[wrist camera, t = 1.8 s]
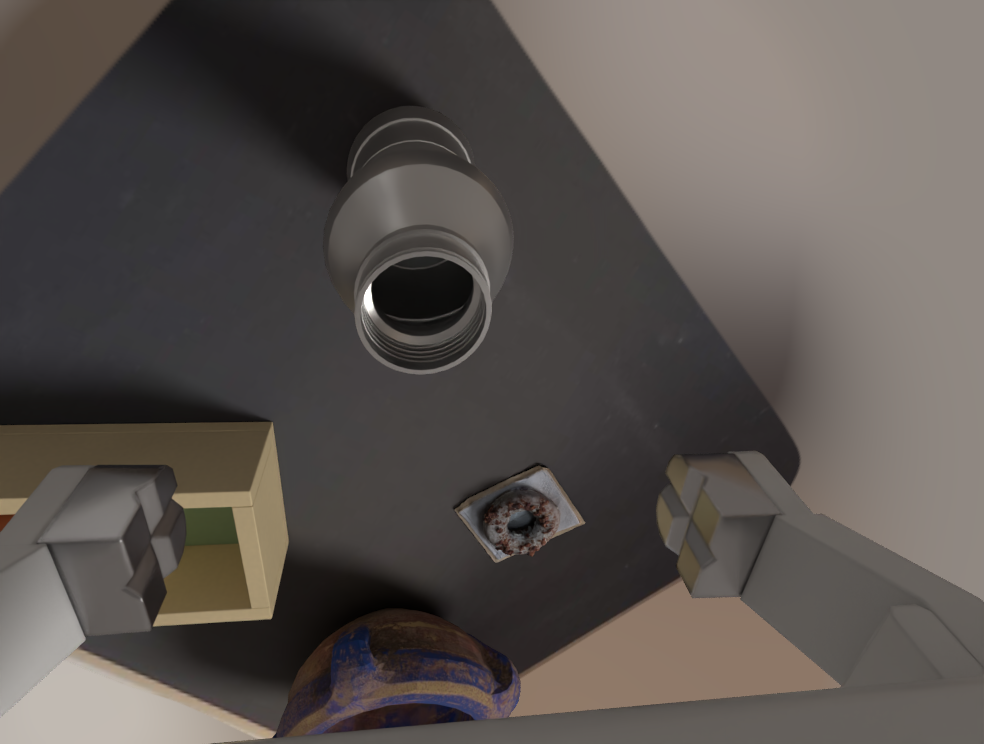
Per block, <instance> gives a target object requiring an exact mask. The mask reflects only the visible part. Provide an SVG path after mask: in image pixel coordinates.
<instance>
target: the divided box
mask: <svg viewBox="0 0 984 744" xmlns="http://www.w3.org/2000/svg"><path fill="white" fill-rule="evenodd" d="M61 465H94V466H96V465H168V466H169V467H171V468H172V469H173V471H174V475H175V478H176V481H177V485H178V486H177V488H176V490H175V492H174V494H173V496H172V499H173V500H175V501H176V502H177V503H178V504H180V505H181V506H182V507H183V509H184V513H185V518H186V531H187V535H186V541H185V547H184V553H183V555H182V558H181V560H180V563H179V565H178V568H177V569H176V570H174V571H173V572H172V573H171V574H169V575H168V576H167V577H165V578H164V583H165V586H166V590H167V594H166V596H165V599H164V601H163V603H162V606H161V608H160V610H159V613H158V615H157V617H156V620H155V622H154V624H153V626H167V625H183V624H199V623H215V622H231V621H247V620H263V619H272V616H273V611H274V607H275V602H276V597H277V593H278V588H279V584H280V579H281V575H282V570H283V565H284V561H285V556H286V552H287V548H288V543H289V540H288V532H287V525H286V517H285V510H284V503H283V495H282V488H281V480H280V473H279V465H278V458H277V451H276V443H275V436H274V428H273V422H217V423H141V424H64V425H0V515H6V514H16V512H17V511H18V510H19V509H20V507H21V506H22V505H23V504H24V502H25V501H26V500H27V499H28V498H29V496H30V495H31V494H32V493H33V491H34V490H35V489H36V488H37V486H38V485H39V484H40V483H41V482H42V480H43V479H44V478H45V477H46V475H47V474H48V473H49V472H50V471H51V470H52V469H54V468H56V467H59V466H61Z"/></svg>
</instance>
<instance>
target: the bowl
mask: <svg viewBox="0 0 984 744" xmlns="http://www.w3.org/2000/svg"><path fill="white" fill-rule="evenodd" d="M519 696H520V679H519V675H518V672H517V669H516V668H515V666H514V665H513V663H512V662H511V661H510V660H509V659H508V658H507V657H506V656H505V655H503V654H501V653H500V652H498V651H496V650H494V649H492V648H490V647H489V646H487V645H486V644H484V643H482V642H481V641H479V640H478V639H476V638H475V637H473V636H472V635H470V634H467V633H465V632H464V631H463V630H461V629H460V628H459V627H457V626H455V625H454V624H452V623H450V622H448V621H446V620H444V619H442V618H440V617H438V616H435V615H432V614H429V613H426V612H422V611H417V610H408V609H403V608H386V609H382V610H378V611H375V612H371V613H369V614H366V615H364V616H361V617H359V618H357V619H355V620H354V621H352V622H349V623H348V624H346V625H345V626H343V627H341V628H340V629H338V630H337V631H335V632H334V633H333V634H331V635H330V636H329V637H327V638H326V639H325V640H323V641H322V643H321V644H320V645H319V646H318V647H317V648H316V649H315V650H314V652H313V653H312V654H311V655H310V656H309V657H308V659H307V660H306V661H305V663H304V664H303V665H302V667H301V668H300V669H299V671H298V673H297V676H296V678H295V680H294V682H293V685H292V687H291V689H290V692H289V695H288V704H287V706H286V709H285V711H284V713H283V715H282V718H281V721H280V724H279V727H278V730H277V733H276V734H275V735H274V736H273V738H280V737H292V736H303V735H314V734H326V733H337V732H349V731H360V730H371V729H383V728H394V727H406V726H417V725H428V724H440V723H451V722H463V721H474V720H486V719H497V718H508V717H509V715H510V714H511V712H512V711H513V710H514V708H515V707H516V704H517V703H518V701H519Z"/></svg>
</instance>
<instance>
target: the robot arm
mask: <svg viewBox="0 0 984 744" xmlns="http://www.w3.org/2000/svg"><path fill="white" fill-rule="evenodd" d="M665 473H666V475H667V476H668V478H669V480H670V482H671V483H670V484H668V485H667V486H666V487H665V488H664V489H663V490H662V491H661V492H660V493H659V497H658V502H657V506H656V516H657V525H658V529H659V533H660V536H661V538H662V540H663V542H664V544H665V546H666V547H668V548H669V549H671V550H672V551H673V552H675V553H676V554H678V555H679V558H678V561H677V564H676V568H677V570H678V571H679V573H680V575H681V577H682V579H683V581H684V583H685V585H686V587H687V589H688V591H689V593H690V595H691V597H692V598H715V597H741V598H740V599H741V600H742V601H743V602H744V603H745V604H747V605H748V606H749V607H750V608H751V609H752V610H753V611H755V612H756V613H757V614H758V615H759V616H760V617H762V618H763V619H764V620H765V621H766V622H768V623H769V624H770V625H771V626H772V627H774V628H775V629H776V630H777V631H778V632H779V633H780V634H782V635H783V636H784V637H785V638H786V639H787V640H789V641H790V642H791V643H792V644H793V645H795V646H796V647H797V648H798V649H799V650H801V651H802V652H803V653H804V654H805V655H806V656H807V657H809V658H810V659H811V660H812V661H813V662H815V663H816V664H817V665H818V666H819V667H820V668H821V669H823V670H824V671H825V672H826V673H827V674H829V675H830V676H831V677H832V678H833V679H834V680H836V681H837V682H838V683H839V684H840V685H841V687H840V688H834V689H822V690H811V691H801V692H789V693H777V694H767V695H754V696H745V697H744V696H743V697H732V698H721V699H710V700H699V701H688V702H676V703H665V704H655V705H643V706H632V707H621V708H610V709H599V710H587V711H577V712H565V713H555V714H543V715H532V716H521V717H508V718H497V719H486V720H474V721H463V722H451V723H440V724H428V725H417V726H406V727H394V728H383V729H371V730H360V731H349V732H337V733H326V734H314V735H303V736H292V737H280V738H269V739H258V740H247V741H235V742H224V743H213V744H984V602H983V601H982V600H981V599H980V598H978V597H976V596H974V595H973V594H971V593H969V592H967V591H965V590H963V589H961V588H960V587H958V586H956V585H954V584H952V583H950V582H948V581H947V580H945V579H943V578H941V577H939V576H937V575H935V574H933V573H932V572H930V571H928V570H926V569H924V568H922V567H920V566H918V565H917V564H915V563H913V562H911V561H909V560H907V559H906V558H903V557H902V556H900V555H898V554H896V553H894V552H892V551H890V550H889V549H887V548H885V547H883V546H881V545H879V544H877V543H876V542H874V541H872V540H870V539H868V538H866V537H864V536H863V535H861V534H859V533H857V532H855V531H853V530H851V529H850V528H848V527H846V526H844V525H842V524H840V523H838V522H836V521H835V520H833V519H831V518H829V517H827V516H825V515H823V514H813V513H812V512H811V510H810V509H809V508H808V507H807V506H806V505H805V503H804V502H803V501H802V500H801V499H800V497H799V496H798V495H797V494H796V493H795V492H794V490H793V489H792V488H791V487H790V486H789V484H788V483H787V482H786V481H785V480H784V479H783V477H782V476H781V475H780V474H779V473H778V472H777V470H776V469H775V468H774V467H773V466H772V465H771V463H770V462H769V461H768V460H767V459H766V458H765V456H764V455H762V454H761V453H759V452H757V451H742V452H728V453H708V454H674V455H673V456H672V458H671V459H670V460H669V462H668V466H667V469H666V472H665ZM177 486H178V485H177V481H176V478H175V475H174V471H173V469H172V468H171V467H169V466H168V465H96V466H94V465H61V466H59V467H56V468H54V469H52V470H51V471H50V472H49V473H48V474H47V475H46V477H45V478H44V479H43V480H42V482H41V483H40V484H39V485H38V486H37V488H36V489H35V490H34V491H33V493H32V494H31V495H30V496H29V498H28V499H27V500H26V501H25V502H24V504H23V505H22V506H21V507H20V509H19V510H18V511H17V512H16V514H15V515H14V516H13V517H12V519H11V520H10V521H9V522H8V523H7V525H6V526H5V527H4V528H3V530H2V531H1V532H0V718H1V717H2V716H3V715H4V714H5V713H6V712H7V711H9V710H10V709H11V708H12V707H13V706H14V705H15V704H16V703H17V702H18V701H20V700H21V698H23V697H24V696H25V695H26V694H27V693H28V692H29V691H30V690H32V689H33V687H35V686H36V685H37V684H38V683H39V682H40V681H41V680H43V679H44V678H45V677H46V676H47V675H48V674H49V673H50V672H51V671H52V670H53V669H55V668H56V667H57V666H58V665H59V664H60V663H61V662H62V661H63V660H64V659H65V658H67V657H68V656H69V655H70V654H71V653H72V652H73V651H74V650H75V649H76V648H78V647H79V646H80V645H81V644H82V643H83V642H84V641H85V640H86V638H85V637H86V636H97V635H109V634H120V633H132V632H144V631H151V629H152V627H153V624H154V622H155V620H156V617H157V615H158V613H159V610H160V608H161V606H162V603H163V601H164V599H165V596H166V594H167V590H166V586H165V583H164V578H165V577H167V576H168V575H169V574H171V573H172V572H173V571H174V570H176V569H177V568H178V565H179V563H180V560H181V558H182V555H183V553H184V547H185V541H186V535H187V531H186V518H185V513H184V509H183V507H182V506H181V505H180V504H178V503H177V502H176V501H175V500H173V499H172V496H173V494H174V492H175V490H176V488H177Z"/></svg>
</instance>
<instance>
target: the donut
mask: <svg viewBox="0 0 984 744" xmlns="http://www.w3.org/2000/svg"><path fill="white" fill-rule="evenodd" d="M454 511H456V512H457V514H458V515H459V517H460V518H461V519H462V521H463V522H464V523H465V525H466V526H467V527H468V528H469V530H470V531H471V532H472V533H473V534H474V536H475V537H476V539H478V541H479V542H480V544H481V545H482V546H483V548H485V550H486V552H487V553H488V554H489V555H490V556H491V557H492V559H493V561H494V562H495V563H497V562H499V561H501V560H504V559H506V558H508V557H510V556H513V555H515V554H516V555H518V554H522V555H523V554H527V555H530V556H533V555H534V552H535V551H538V550H540V547H541V546H542V545H545V544H546V542H548V541H549V539H551V538H553V537H556V536H558V535H560V534H562V533H564V532H567V531H569V530H572V529H573V528H575V527H578V526H580V525H583V524H585V522H584V521H583V519H582V518H581V516H580V514H579V513H578V511H577V510H576V508H575V507H574V505H572V502H571V500H570V499H569V497H568V496H567V495H566V493H565V491H564V490H563V489H562V488H561V486H560V484H559V483H558V481H557V480H556V478H555V477H554V475H553V474H552V472H551V471H550V470H549V469H548V468H544V467H541V466H536V467H535V468H532V469H530V470H528V471H527V472H523V473H522V474H519V475H516V477H511V478H509V479H507V480H506V481H504V482H502V483H499V484H497V485H495V486H493V487H491V488H489V489H487V490H485V491H483V492H481V493H478V494H477V495H474V496H473V497H470V498H468V499H467V500H466V501H465V502H464V503H462V504H461V505H460V506H459V507H458V508H456V509H455V510H454Z"/></svg>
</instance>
